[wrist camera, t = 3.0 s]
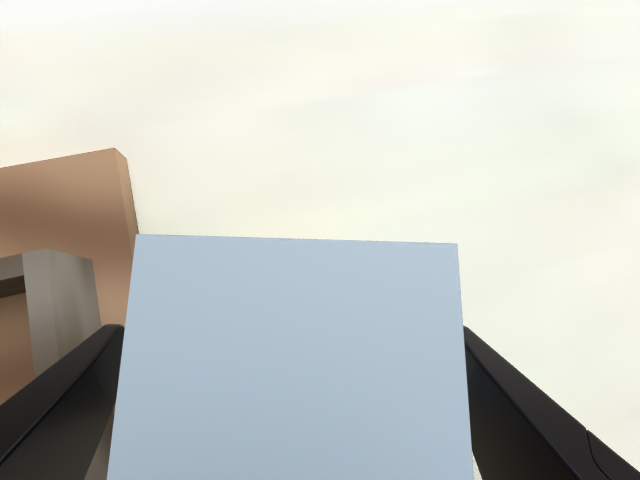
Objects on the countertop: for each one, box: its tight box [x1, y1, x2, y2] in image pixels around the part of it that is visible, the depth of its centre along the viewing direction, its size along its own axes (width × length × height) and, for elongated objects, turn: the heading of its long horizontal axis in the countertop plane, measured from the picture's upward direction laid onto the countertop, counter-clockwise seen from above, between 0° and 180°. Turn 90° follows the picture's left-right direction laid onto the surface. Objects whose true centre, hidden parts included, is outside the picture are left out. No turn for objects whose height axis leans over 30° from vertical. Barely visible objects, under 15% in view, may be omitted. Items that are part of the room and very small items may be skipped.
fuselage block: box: [107, 234, 474, 480], centre depth 10 cm, size 5×5×12 cm
